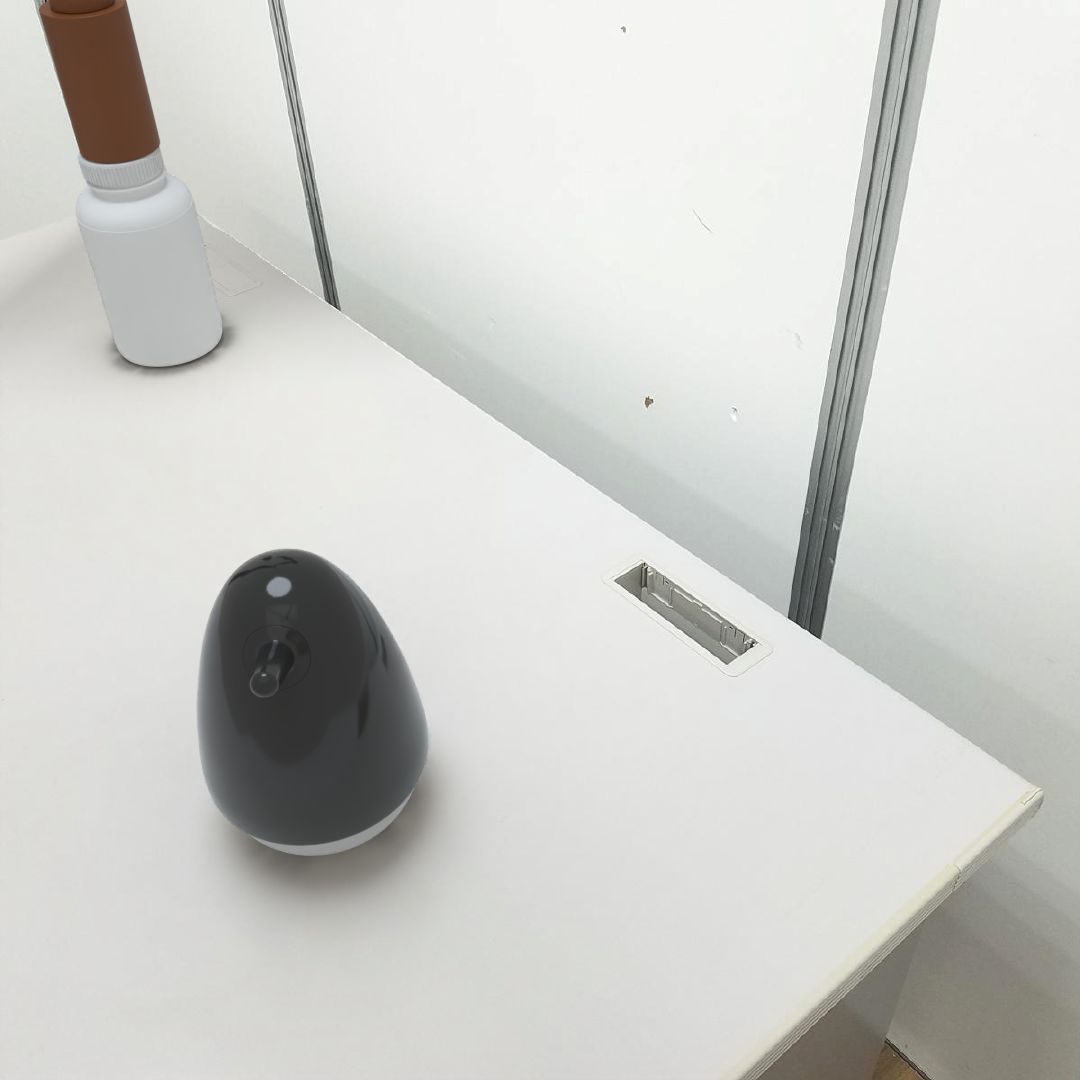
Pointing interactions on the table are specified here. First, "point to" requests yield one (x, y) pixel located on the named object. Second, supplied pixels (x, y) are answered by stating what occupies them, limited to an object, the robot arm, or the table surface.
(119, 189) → the pill bottle
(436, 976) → the table surface
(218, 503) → the table surface
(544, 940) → the table surface
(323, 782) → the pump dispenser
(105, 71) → the amber bottle
